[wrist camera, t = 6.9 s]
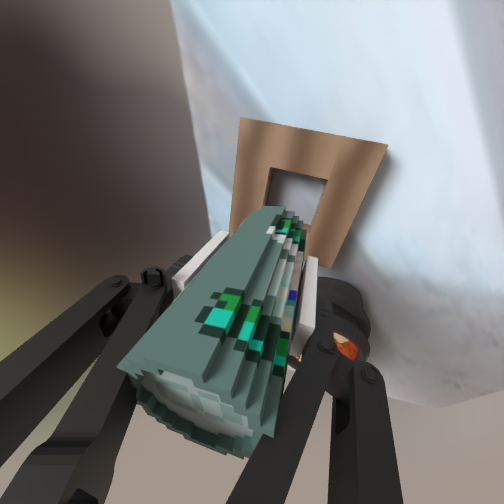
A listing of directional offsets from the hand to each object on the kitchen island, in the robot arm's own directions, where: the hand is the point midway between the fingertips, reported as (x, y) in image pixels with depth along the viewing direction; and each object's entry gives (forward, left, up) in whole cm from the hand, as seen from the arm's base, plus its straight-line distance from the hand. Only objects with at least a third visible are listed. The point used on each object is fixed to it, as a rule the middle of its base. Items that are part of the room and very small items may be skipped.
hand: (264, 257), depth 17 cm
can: (0, 0, -4) cm, 4 cm away
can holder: (0, 0, -19) cm, 19 cm away
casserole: (-12, +24, -19) cm, 33 cm away
